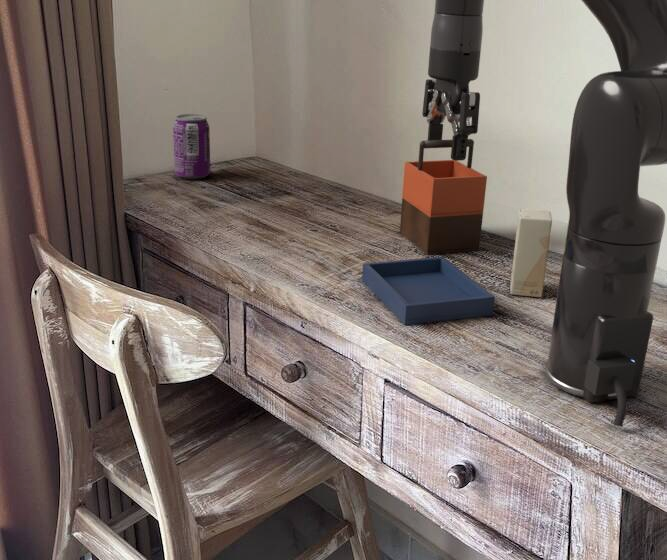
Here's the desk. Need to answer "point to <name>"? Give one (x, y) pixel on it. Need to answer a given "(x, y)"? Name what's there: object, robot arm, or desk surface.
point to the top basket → (444, 184)
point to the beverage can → (191, 146)
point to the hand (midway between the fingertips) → (445, 153)
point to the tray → (427, 290)
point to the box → (530, 252)
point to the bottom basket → (440, 230)
